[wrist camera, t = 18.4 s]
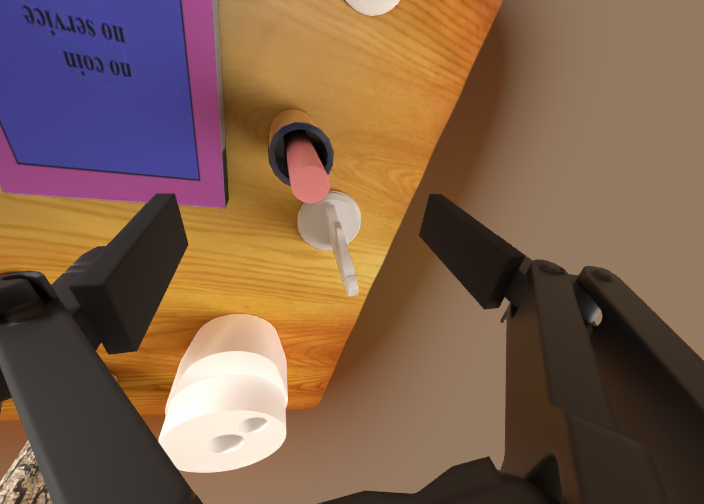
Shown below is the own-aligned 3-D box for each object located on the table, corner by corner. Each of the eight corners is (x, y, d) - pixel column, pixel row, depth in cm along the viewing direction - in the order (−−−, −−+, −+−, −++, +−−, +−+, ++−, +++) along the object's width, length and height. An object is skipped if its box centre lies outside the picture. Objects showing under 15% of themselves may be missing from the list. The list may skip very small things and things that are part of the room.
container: (297, 315, 51) (304, 383, 40) (279, 394, 63) (280, 463, 52) (175, 312, 45) (141, 391, 34) (180, 401, 57) (157, 482, 45)
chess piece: (357, 184, 40) (393, 233, 28) (362, 241, 46) (394, 302, 33) (290, 196, 39) (297, 254, 27) (303, 253, 44) (315, 322, 32)
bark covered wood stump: (77, 363, 46) (-83, 597, 25) (125, 370, 49) (18, 584, 28) (67, 386, 48) (-88, 620, 27) (113, 393, 51) (6, 605, 31)
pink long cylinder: (283, 123, 33) (290, 164, 18) (306, 125, 34) (331, 166, 19) (284, 148, 35) (291, 203, 20) (306, 149, 35) (329, 203, 21)
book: (201, -188, 19) (225, 208, 34) (209, -158, 22) (228, 199, 37) (-285, -400, 13) (3, 193, 28) (-198, -327, 16) (25, 183, 31)
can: (268, 106, 32) (266, 120, 23) (319, 110, 34) (335, 124, 25) (271, 158, 36) (270, 188, 27) (318, 160, 37) (331, 188, 28)
